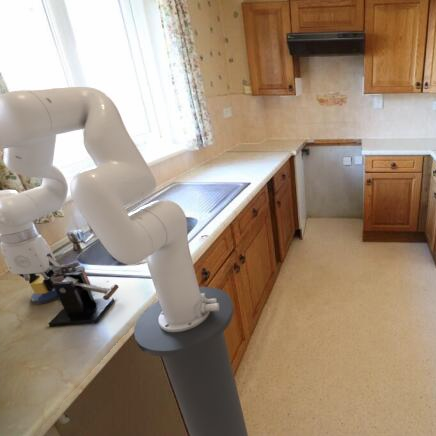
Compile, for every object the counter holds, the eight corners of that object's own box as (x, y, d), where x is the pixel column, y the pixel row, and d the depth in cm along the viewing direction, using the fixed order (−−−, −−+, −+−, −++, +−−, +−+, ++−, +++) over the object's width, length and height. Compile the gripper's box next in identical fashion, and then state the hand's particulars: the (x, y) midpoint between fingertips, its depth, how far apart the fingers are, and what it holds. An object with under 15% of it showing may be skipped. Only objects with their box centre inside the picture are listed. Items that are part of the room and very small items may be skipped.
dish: (71, 286, 101) (70, 282, 101) (54, 302, 94) (52, 299, 93) (45, 287, 101) (43, 284, 100) (25, 304, 93) (23, 301, 93)
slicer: (114, 301, 93) (101, 266, 88) (96, 323, 85) (80, 286, 80) (72, 304, 93) (55, 270, 88) (49, 326, 85) (30, 290, 80)
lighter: (60, 301, 94) (46, 273, 90) (60, 296, 97) (46, 268, 92) (93, 290, 99) (81, 262, 94) (92, 285, 101) (80, 257, 97)
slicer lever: (118, 290, 90) (119, 283, 89) (108, 302, 85) (109, 295, 84) (70, 280, 87) (70, 273, 86) (57, 292, 83) (57, 284, 82)
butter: (46, 285, 98) (41, 275, 97) (56, 284, 98) (52, 274, 97) (35, 294, 94) (29, 284, 93) (46, 293, 94) (41, 283, 93)
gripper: (-25, 243, 85) (7, 299, 93) (40, 239, 86) (66, 294, 93) (-1, 230, 92) (27, 283, 99) (59, 226, 92) (82, 279, 100)
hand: (46, 288), depth 96 cm, fingers closed on butter, 3 cm apart
